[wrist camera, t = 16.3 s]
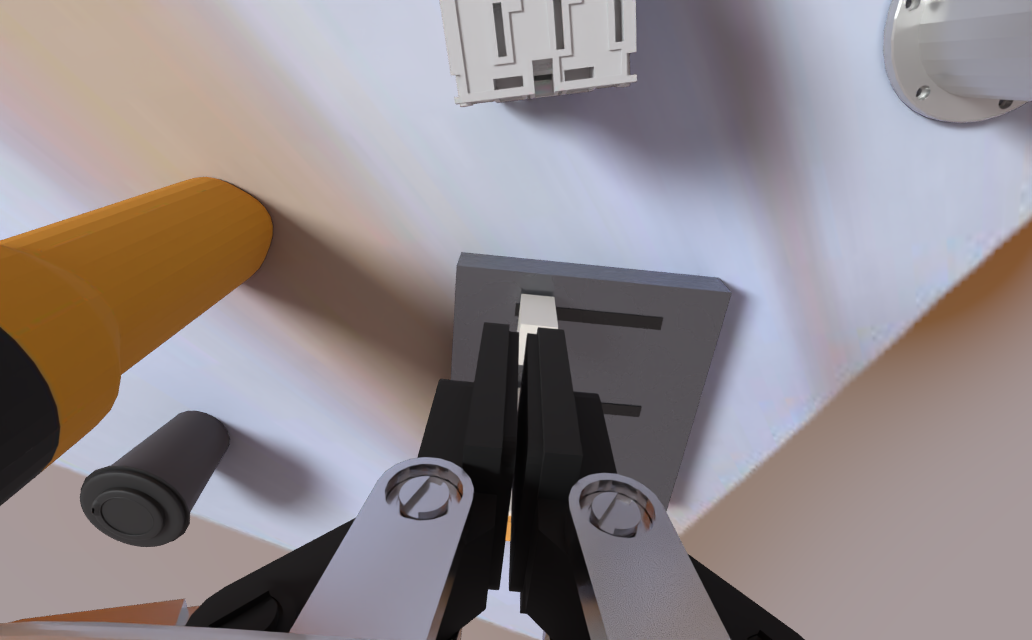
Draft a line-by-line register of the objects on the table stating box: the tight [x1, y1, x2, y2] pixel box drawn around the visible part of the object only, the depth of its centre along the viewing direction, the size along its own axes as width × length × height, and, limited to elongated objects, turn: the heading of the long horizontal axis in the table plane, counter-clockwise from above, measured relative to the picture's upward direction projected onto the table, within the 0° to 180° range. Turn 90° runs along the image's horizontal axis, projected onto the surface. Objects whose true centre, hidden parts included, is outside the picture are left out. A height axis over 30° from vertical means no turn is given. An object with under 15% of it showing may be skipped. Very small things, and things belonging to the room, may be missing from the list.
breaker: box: [517, 294, 558, 365], centre depth 36 cm, size 2×3×5 cm
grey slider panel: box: [451, 252, 732, 511], centre depth 44 cm, size 20×22×3 cm
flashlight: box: [0, 177, 273, 506], centre depth 28 cm, size 10×26×10 cm
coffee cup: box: [80, 411, 230, 547], centre depth 44 cm, size 8×8×10 cm
